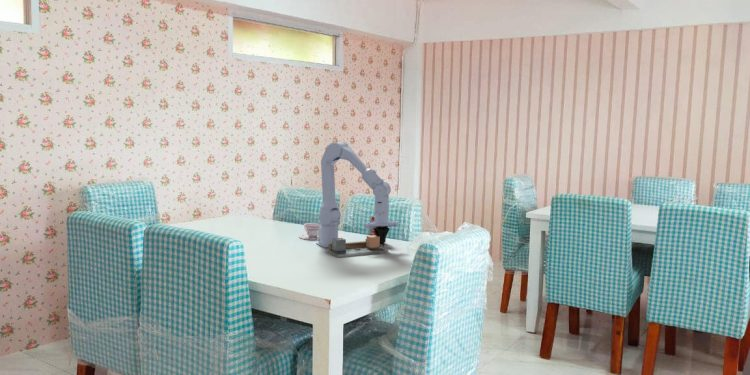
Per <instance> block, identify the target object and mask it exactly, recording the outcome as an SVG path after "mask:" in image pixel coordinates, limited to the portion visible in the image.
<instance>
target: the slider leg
mask: <svg viewBox="0 0 750 375" xmlns="http://www.w3.org/2000/svg"><path fill="white" fill-rule="evenodd" d="M365 241H366V242H367V243H366V248H369V249H380V247H381V245H380V237H379V236H376V235H371V236H370V235H366V238H365Z"/></svg>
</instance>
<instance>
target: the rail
mask: <svg viewBox="0 0 750 375" xmlns="http://www.w3.org/2000/svg"><path fill="white" fill-rule="evenodd" d="M366 243H367V242H366V240H363V241H349V242H346V249H347V248H358V247H366ZM328 249H330V250H332V244H329V247H328Z"/></svg>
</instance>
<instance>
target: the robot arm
mask: <svg viewBox="0 0 750 375" xmlns="http://www.w3.org/2000/svg"><path fill="white" fill-rule="evenodd" d="M340 159H341V160H344V161H348V162H349V163H350V164H351V165H352V167H355V169H356V170H357V171H358V172H359V173H360V174H361V179H362V181H364V183H366V185H367V186H368V187H369V188H370V189H371V190H372V194H373V196H374V215H375V222H372V223H370V222H368V223H364V229H367V230H368V229H369V230H370V228H373V229H374V231H375V233H376V236H379V237H380V246H384V244H385V243H384V241H385V238H386V239H387V235H388V233H389V231H390V228H392V227H395V228H396V227H397V228H398V227H399V222H398V221H396V220H395V221H389V214H390V212H389V209H390V208H389V207H390V206H389V205H390V202H389V201H390V200H389V199H390V197H389V196H390V193H391V190H392V189H391V185H390V184H389V183H388V182H386V181H385V180H384V179H383V178H381V177H380V176H379V175H378V174H377V171H376V169H372V168H368V167H367V166H366V164H365V163H363V161H362V160H361V158H360V157H359V156H358V155H357V154H356V152H355V151H354V149H353V148H352V147H351V146H349V145H348V143H346V142H345V141H339V142H331V143H330V144H328V145H327V146H326V147H325V150H324V153H323V155H322V157H321V160H320V168H321V187H322V188H321V190H322V204H321V205H320V209H319V214H318V221H319V223H320V224H321V225H320V227H319V229H318V237H317V238H318V239H317V240H318V242H316V243H315V244H316V245H319V246H320V247H322V248H329V244H332V241H333V238H339V221H340V219H341V217H342V216H341V212H340V210H339V205H338V203H337V201H336V182H335V179H336V178H335V164H336V163H338V161H339V160H340Z"/></svg>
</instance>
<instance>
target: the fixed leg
mask: <svg viewBox="0 0 750 375" xmlns="http://www.w3.org/2000/svg"><path fill="white" fill-rule="evenodd" d="M346 243H347V242H346V238H343V237H338V238H333V241H332V251H334V252H336V253H339V252H346Z"/></svg>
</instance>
